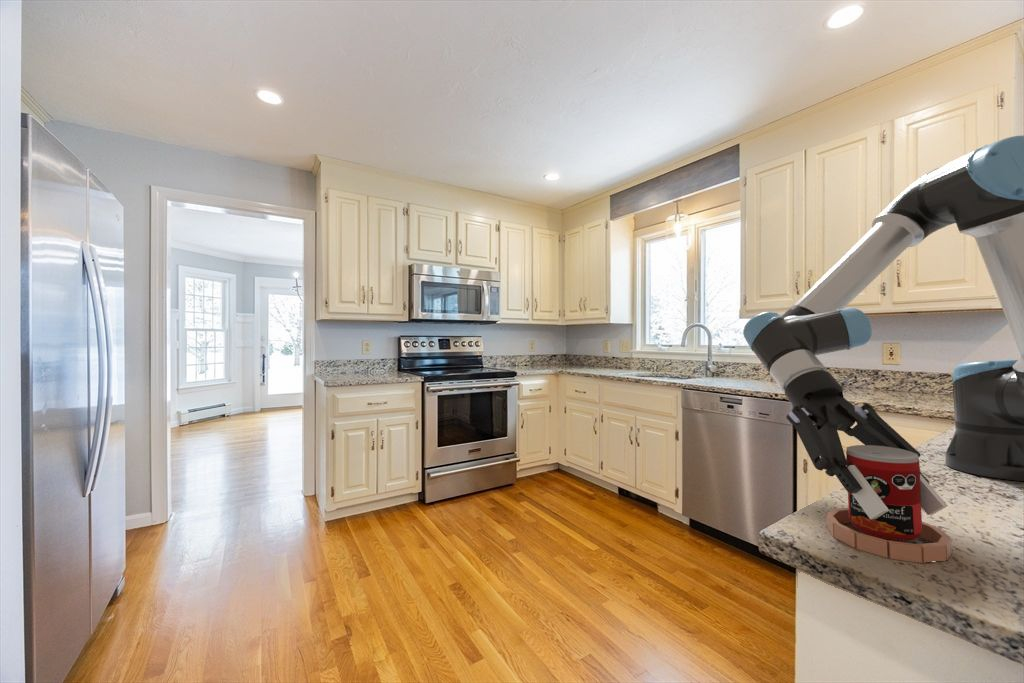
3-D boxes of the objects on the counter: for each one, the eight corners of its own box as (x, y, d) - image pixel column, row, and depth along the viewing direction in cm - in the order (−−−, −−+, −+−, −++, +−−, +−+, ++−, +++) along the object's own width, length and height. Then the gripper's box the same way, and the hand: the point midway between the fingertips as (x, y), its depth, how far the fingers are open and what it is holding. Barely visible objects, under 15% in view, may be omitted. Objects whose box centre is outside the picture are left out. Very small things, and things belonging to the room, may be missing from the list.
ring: (844, 514, 67) (843, 501, 67) (957, 542, 56) (957, 527, 56) (815, 536, 59) (814, 522, 59) (940, 573, 49) (939, 556, 49)
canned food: (841, 527, 59) (838, 450, 59) (858, 513, 63) (855, 442, 64) (915, 548, 52) (911, 461, 53) (928, 530, 57) (924, 451, 57)
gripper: (846, 393, 75) (955, 519, 58) (739, 398, 72) (821, 529, 56) (874, 365, 69) (1001, 494, 53) (759, 369, 67) (856, 505, 51)
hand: (908, 512), depth 55 cm, fingers closed on canned food, 8 cm apart
